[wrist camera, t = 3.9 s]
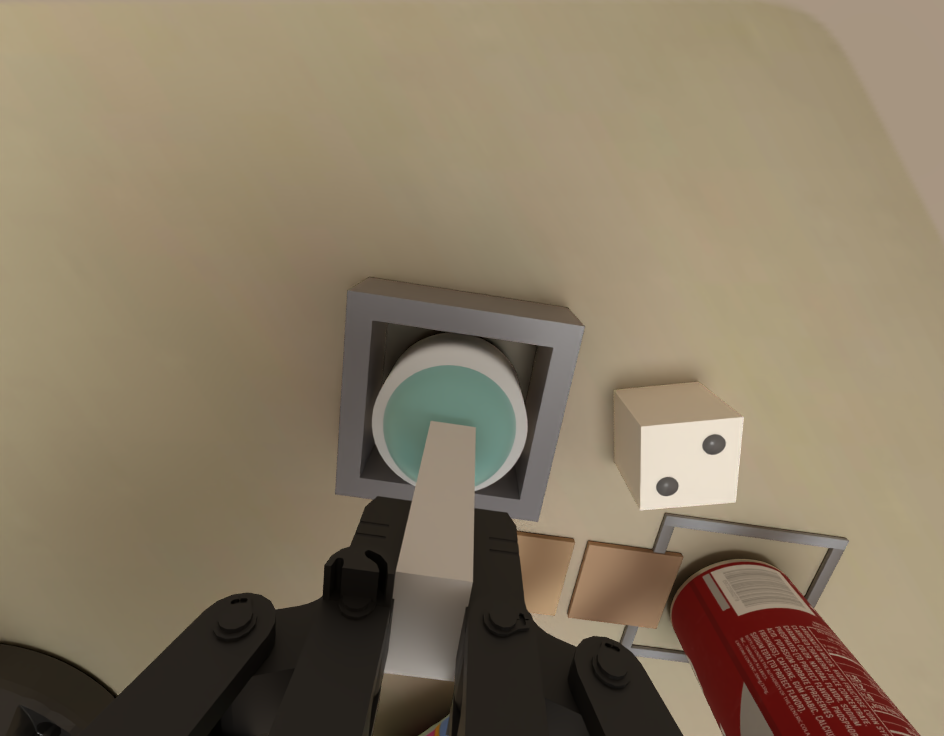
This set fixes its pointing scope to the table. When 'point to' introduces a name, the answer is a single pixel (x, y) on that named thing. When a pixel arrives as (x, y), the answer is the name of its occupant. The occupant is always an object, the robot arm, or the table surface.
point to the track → (637, 575)
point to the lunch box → (437, 728)
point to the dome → (451, 405)
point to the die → (677, 445)
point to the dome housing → (465, 315)
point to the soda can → (774, 658)
